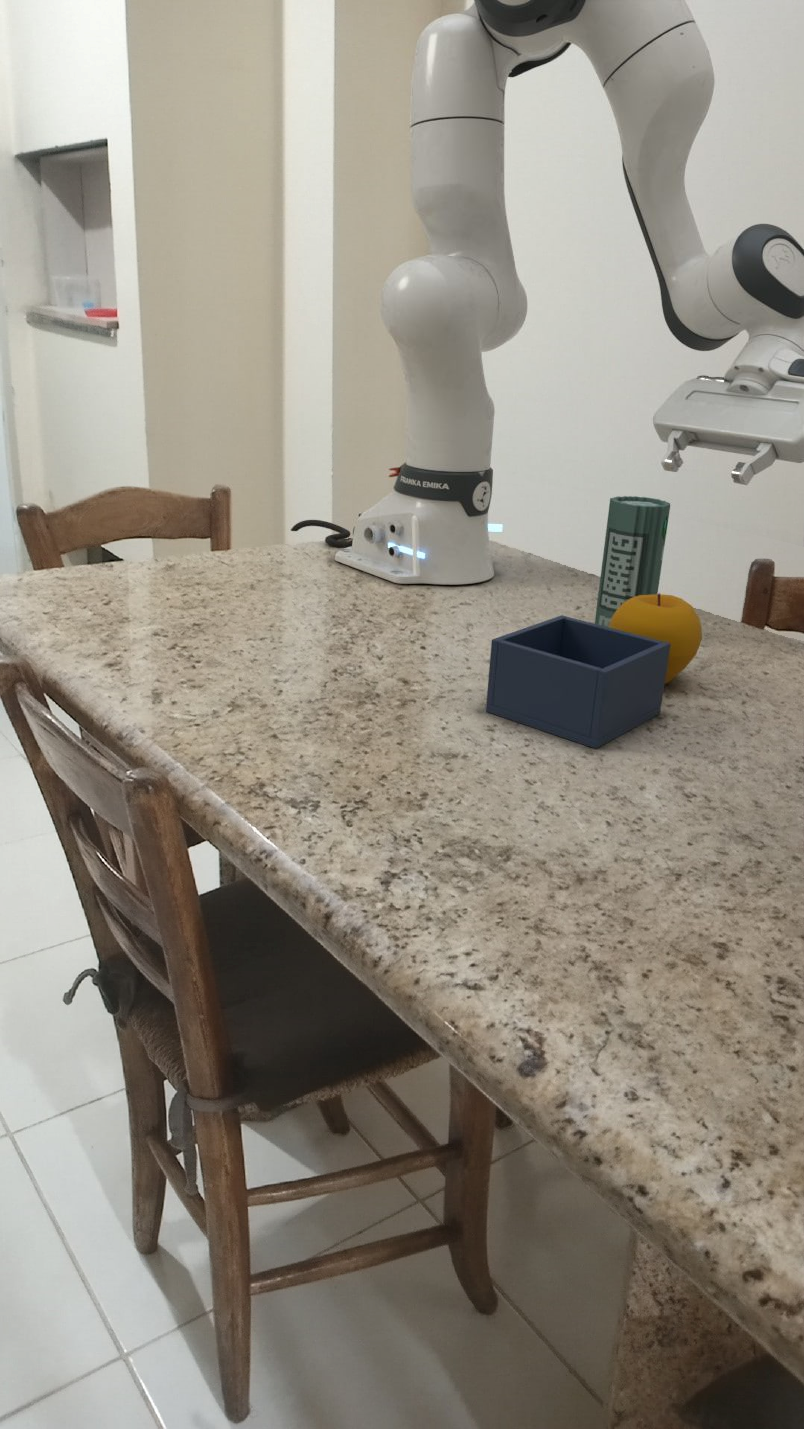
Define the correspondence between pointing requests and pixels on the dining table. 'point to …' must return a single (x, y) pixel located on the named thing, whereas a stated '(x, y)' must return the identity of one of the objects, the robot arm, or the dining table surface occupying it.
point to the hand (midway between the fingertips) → (701, 474)
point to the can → (631, 552)
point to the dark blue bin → (577, 679)
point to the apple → (662, 626)
